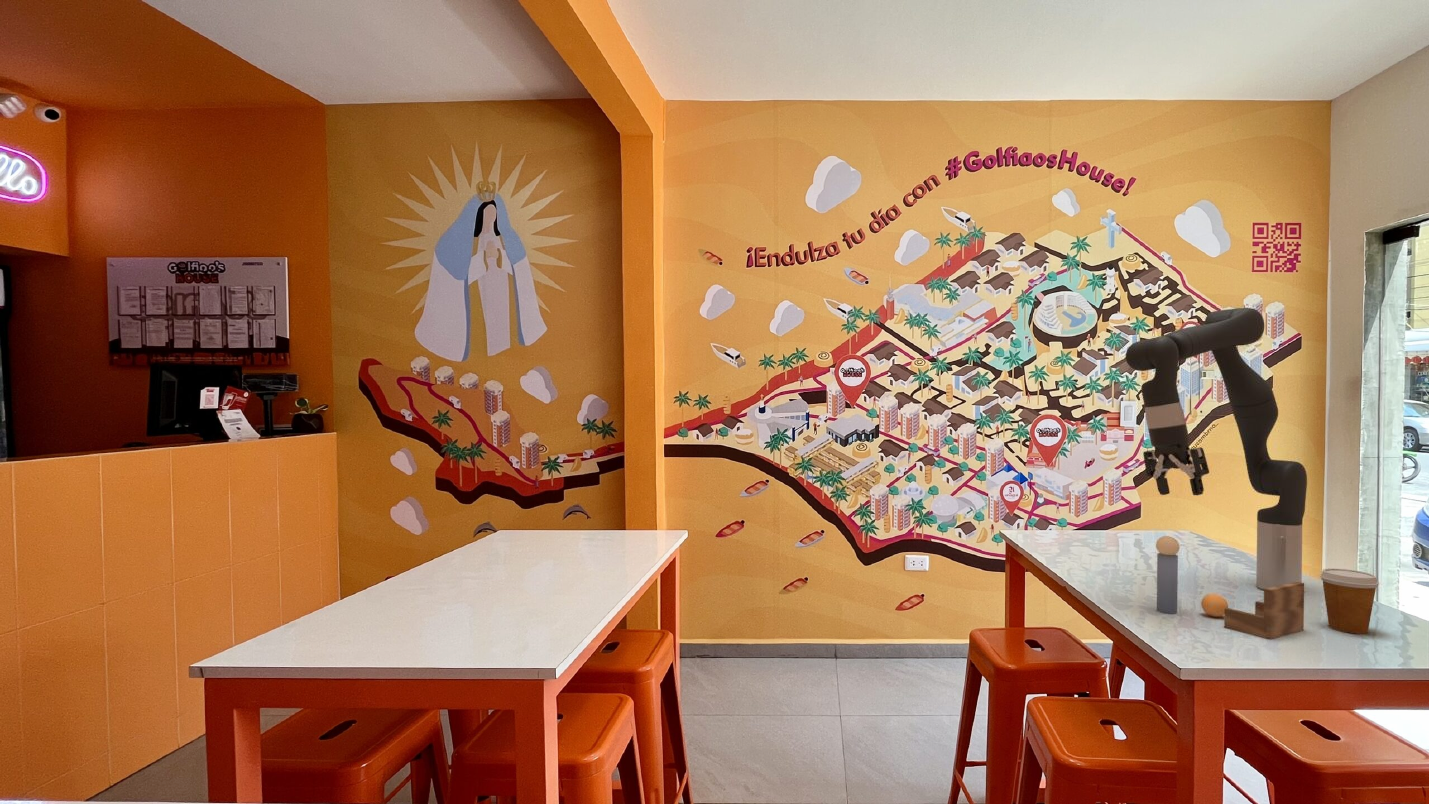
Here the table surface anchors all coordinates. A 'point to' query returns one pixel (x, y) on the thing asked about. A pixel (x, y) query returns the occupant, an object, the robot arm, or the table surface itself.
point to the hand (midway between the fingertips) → (1181, 494)
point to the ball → (1214, 605)
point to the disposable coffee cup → (1349, 599)
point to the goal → (1271, 613)
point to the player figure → (1167, 574)
